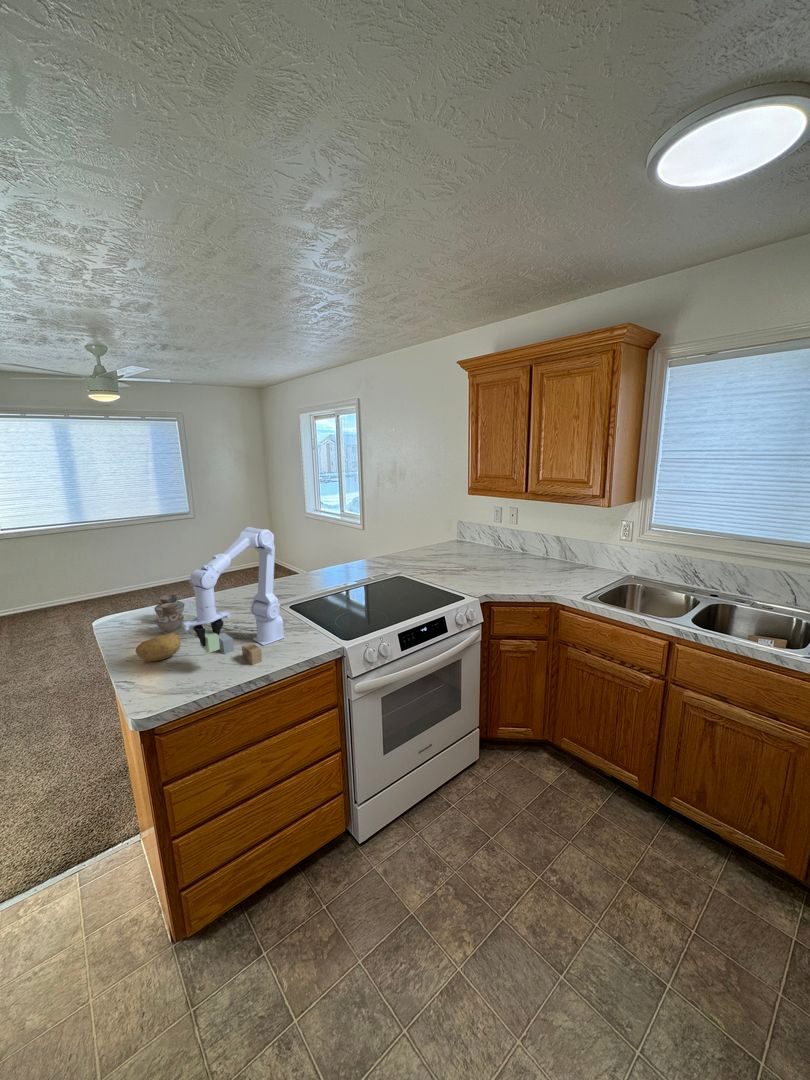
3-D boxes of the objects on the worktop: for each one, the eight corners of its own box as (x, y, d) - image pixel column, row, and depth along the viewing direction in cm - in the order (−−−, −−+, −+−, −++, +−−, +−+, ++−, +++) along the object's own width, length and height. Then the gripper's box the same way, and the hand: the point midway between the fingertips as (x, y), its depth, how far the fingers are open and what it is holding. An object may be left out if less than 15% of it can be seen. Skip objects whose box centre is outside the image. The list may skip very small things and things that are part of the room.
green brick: (200, 645, 147) (199, 632, 146) (210, 642, 150) (209, 629, 149) (209, 652, 142) (207, 638, 141) (219, 649, 145) (218, 635, 144)
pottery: (155, 640, 167) (152, 611, 165) (156, 618, 189) (152, 591, 186) (188, 634, 173) (185, 606, 170) (185, 613, 194) (182, 587, 191)
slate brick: (216, 647, 162) (214, 635, 161) (225, 644, 164) (224, 632, 163) (224, 654, 157) (223, 641, 156) (233, 650, 160) (232, 638, 159)
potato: (134, 660, 152) (131, 638, 151) (178, 647, 161) (175, 627, 160) (140, 670, 145) (137, 648, 143) (185, 657, 154) (183, 636, 152)
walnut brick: (242, 658, 154) (241, 645, 153) (252, 655, 156) (251, 642, 155) (252, 665, 149) (251, 652, 148) (262, 662, 152) (261, 648, 151)
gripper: (222, 596, 151) (225, 633, 154) (177, 607, 140) (182, 646, 143) (231, 601, 146) (234, 639, 149) (186, 613, 136) (190, 653, 139)
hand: (209, 643), depth 146 cm, fingers closed on green brick, 3 cm apart
